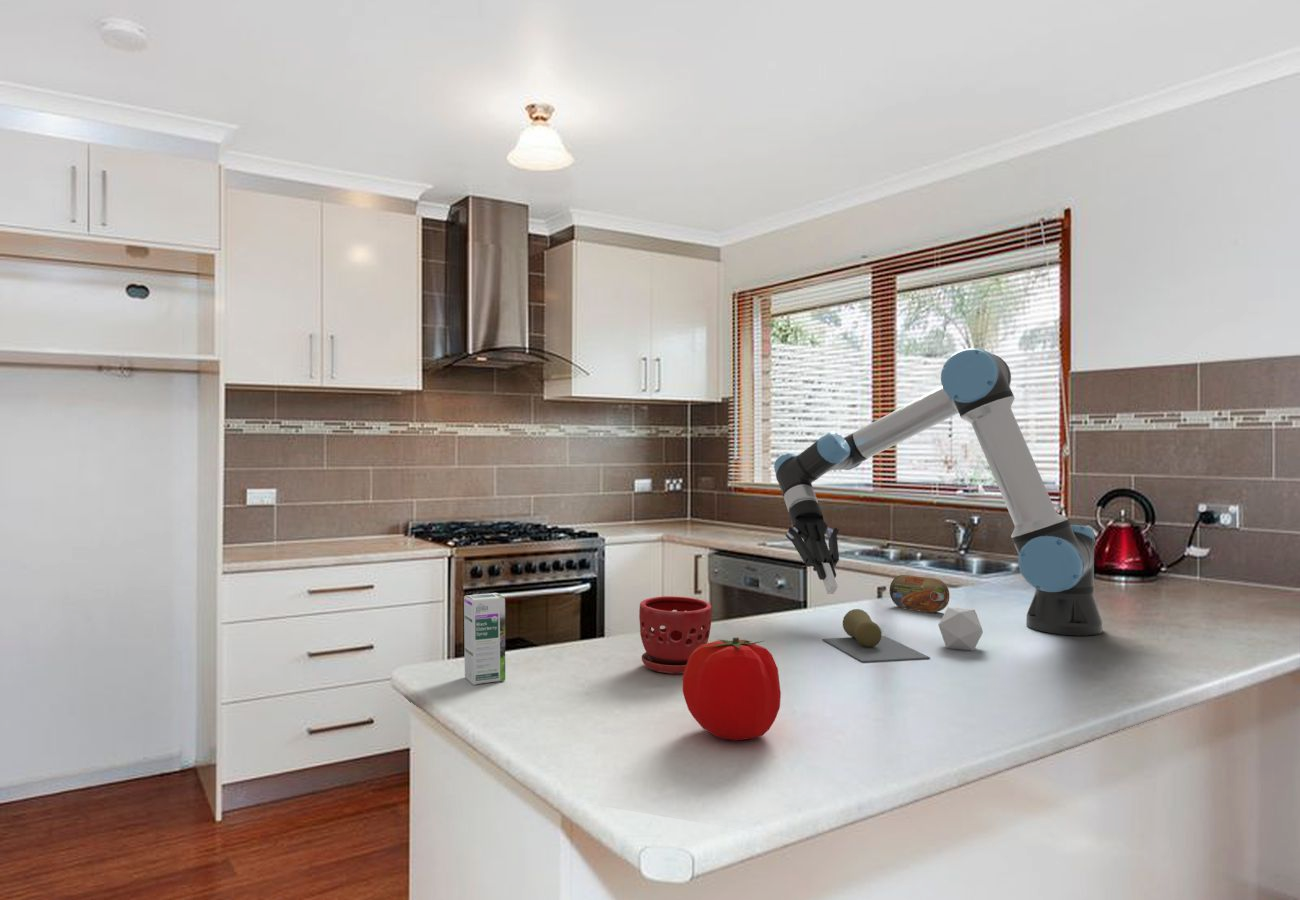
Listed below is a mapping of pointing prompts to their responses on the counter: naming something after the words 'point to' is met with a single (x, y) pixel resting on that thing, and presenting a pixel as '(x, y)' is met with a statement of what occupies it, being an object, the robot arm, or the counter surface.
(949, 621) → the die
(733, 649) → the tomato
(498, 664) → the syrup box
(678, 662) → the plant pot
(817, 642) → the counter surface
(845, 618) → the cork
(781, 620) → the counter surface
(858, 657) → the mat
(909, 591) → the tin
